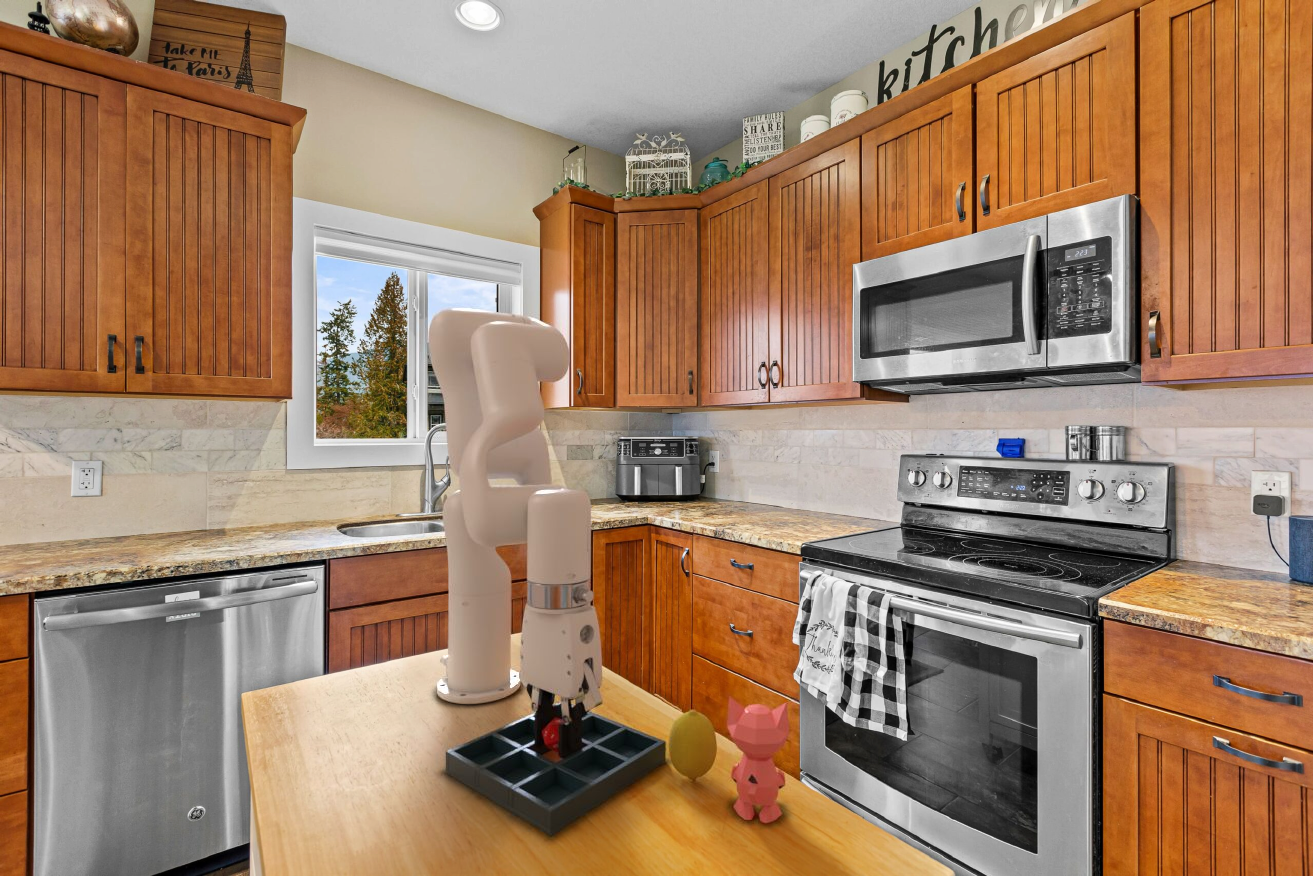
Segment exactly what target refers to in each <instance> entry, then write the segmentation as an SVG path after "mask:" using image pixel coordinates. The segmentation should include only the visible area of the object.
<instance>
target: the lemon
mask: <svg viewBox="0 0 1313 876" xmlns="http://www.w3.org/2000/svg"><path fill="white" fill-rule="evenodd" d="M668 737H669V738H668V753H669V754H668V755H669V757H670V762H671V764H672V766H673V768H674V769H675V770H676V771H677V772H678V773H679V774H680V775H682V776H683V777H686V778H687V779H689V780H690V781H691V782H692V781H696V780H697V779H698V778H701V777H703V776H705V775H706V774H707V773H708V772H710V770H711V769H712V767H713V765H714V764H715V760H716V758H717V753H718V752H717V751H718V743H717V736H716V732H715V728H714V725H713V724H712V722H711V720H710V719H709V718H708V717H707V716H706V715H705V714H702V712H699V711H697V710H696V709H690V710H689V711H686V712H683V713H682V714H680V715H679V716H678V717H677V718H676V719H675V720H674V722H673V724H672V726H671V729H670V731H669V736H668Z"/></svg>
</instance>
